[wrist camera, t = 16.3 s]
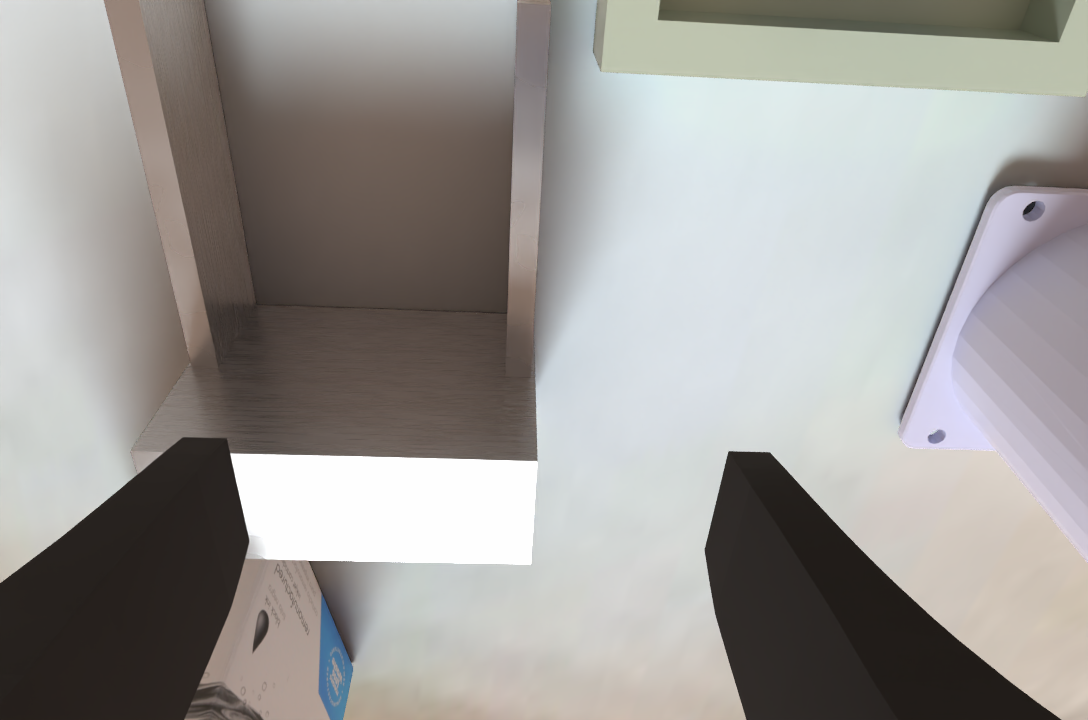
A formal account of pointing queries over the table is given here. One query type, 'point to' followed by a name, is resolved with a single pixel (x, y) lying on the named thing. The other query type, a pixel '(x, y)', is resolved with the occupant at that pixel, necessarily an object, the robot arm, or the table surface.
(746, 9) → the green tray
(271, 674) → the ink box
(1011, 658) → the table surface
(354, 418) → the steel bay
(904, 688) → the robot arm
